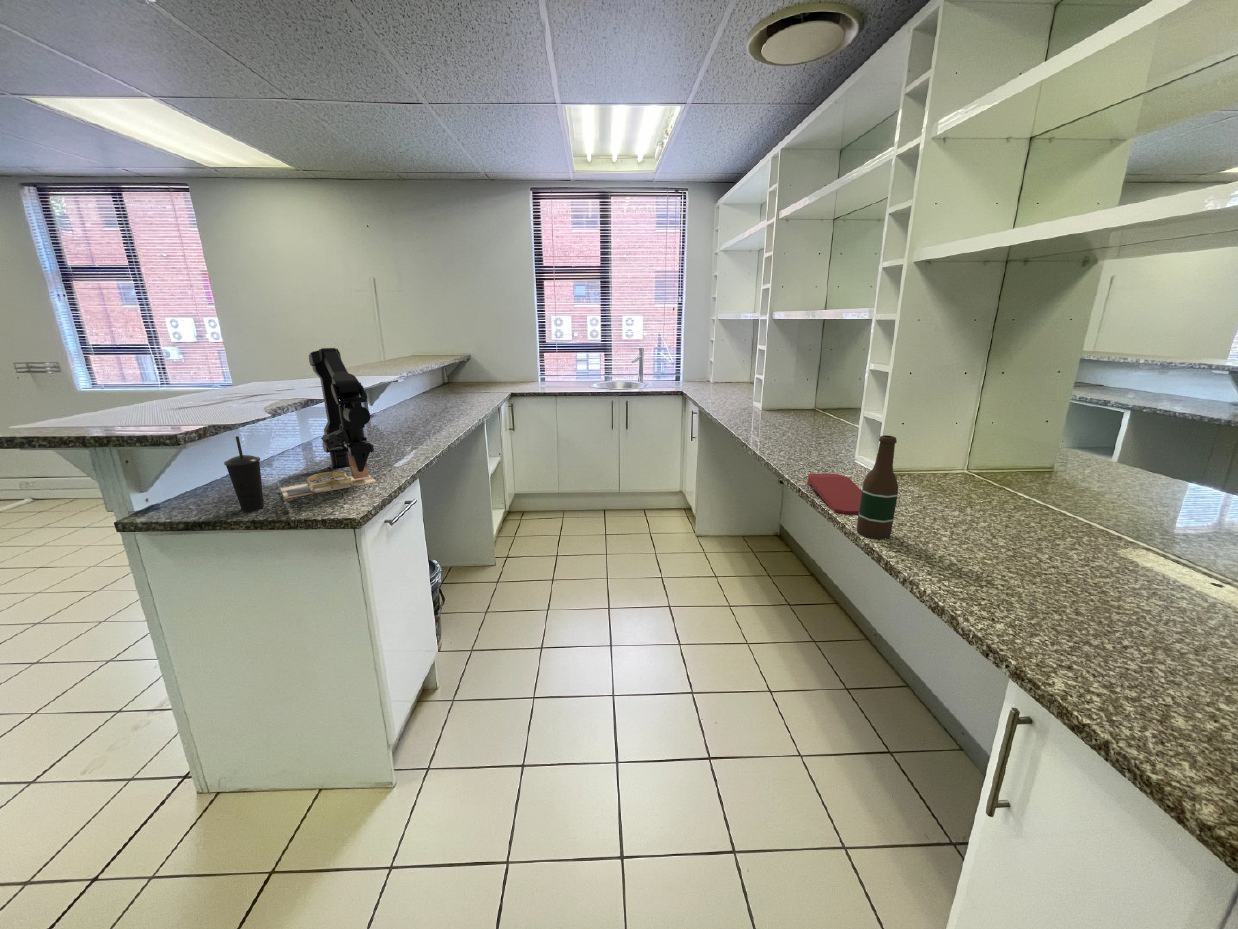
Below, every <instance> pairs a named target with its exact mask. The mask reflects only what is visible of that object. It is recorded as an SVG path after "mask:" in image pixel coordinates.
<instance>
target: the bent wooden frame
mask: <svg viewBox="0 0 1238 929" xmlns="http://www.w3.org/2000/svg"><path fill="white" fill-rule="evenodd" d="M331 476H332V479H336V477H337V476H338V477H344V479H342V480H330V479H328V480H329V481H327V482H325V483H319V484H313V485H312V487H313V489H312V493H313V494H312V495H314V493H315V489H317V488H323V487H327V486H329V485H330V486H331V488H333V484H335V485H340V484H346V483H350V485H351V487H350V488H353V487H354V486H353V482H352V481H351V478H348V479H347V477H348V475H347V472H346V471H341V470H340V471H336V470H333V471H326V472H322V473H321V472H320V473H316V474H312V475H310V476H309V477H306V484H307V485H308V486H310V483H311V482H313V481H315V480H316V481H315V482H319V481H320V479H321V478H327V477H331ZM352 486H353V487H352ZM315 494H316V493H315Z"/></svg>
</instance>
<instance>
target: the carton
mask: <svg viewBox="0 0 1238 929" xmlns="http://www.w3.org/2000/svg"><path fill="white" fill-rule="evenodd" d="M806 485H807V486H809V487H812V488H813V489H814V490H815V491H816V493H817V494H818V495H819V496H820V497H821V499H822V500H823V501H824V502H825V503H826V505H827V506H828V507H829V509H830V510H831V511H832V512H833V513H836V514H837V513H838V514H843V515H858V514H859V507H860V501H861V494H862V489H861V488H860V487H859V486H858V485H857V483H855V482H854V481H852V479H851V478H850V477H847V476H845V475H842V474H839V473H808V474H807V484H806Z"/></svg>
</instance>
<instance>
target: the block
mask: <svg viewBox="0 0 1238 929" xmlns="http://www.w3.org/2000/svg"><path fill="white" fill-rule="evenodd" d="M348 456H349V462H350V467H349V468H350V476H352V477H353V478H354V479H358V478H364V477H369V475H370V474H369V469H368V468H369V467H368V463H367V461H368V460H367V461H366V464H365V467H364V470H363V472H359V471H358V468H357V465H356V463H355V460H354V457H353V456H352V455H350V454H349V455H348Z"/></svg>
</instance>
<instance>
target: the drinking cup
mask: <svg viewBox="0 0 1238 929" xmlns="http://www.w3.org/2000/svg"><path fill="white" fill-rule="evenodd" d="M235 441H236V445H237V450H238V454H239V455H237V456H233V457H231V458H229V459H228V460H226V461H224V462H223V465H224V466H226V470H227V473H228V475H229V476H228V477H229V478H230V481H231V484H232V487H233V490H234V492H235V495H236V497H237V500H238V503H239V506H240V509H241V511H242V512H243V513H244V512H245V513H249V512H257V511H259V509H260V510H261V509H263V508H265V502H264V494H263V493H264V492H263V484H262V483H263V482H262V474H261V462H260V461H261V457H259V456H255V455H249V454H243V450H242V445H241V441H240V437H239V436H235Z"/></svg>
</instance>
